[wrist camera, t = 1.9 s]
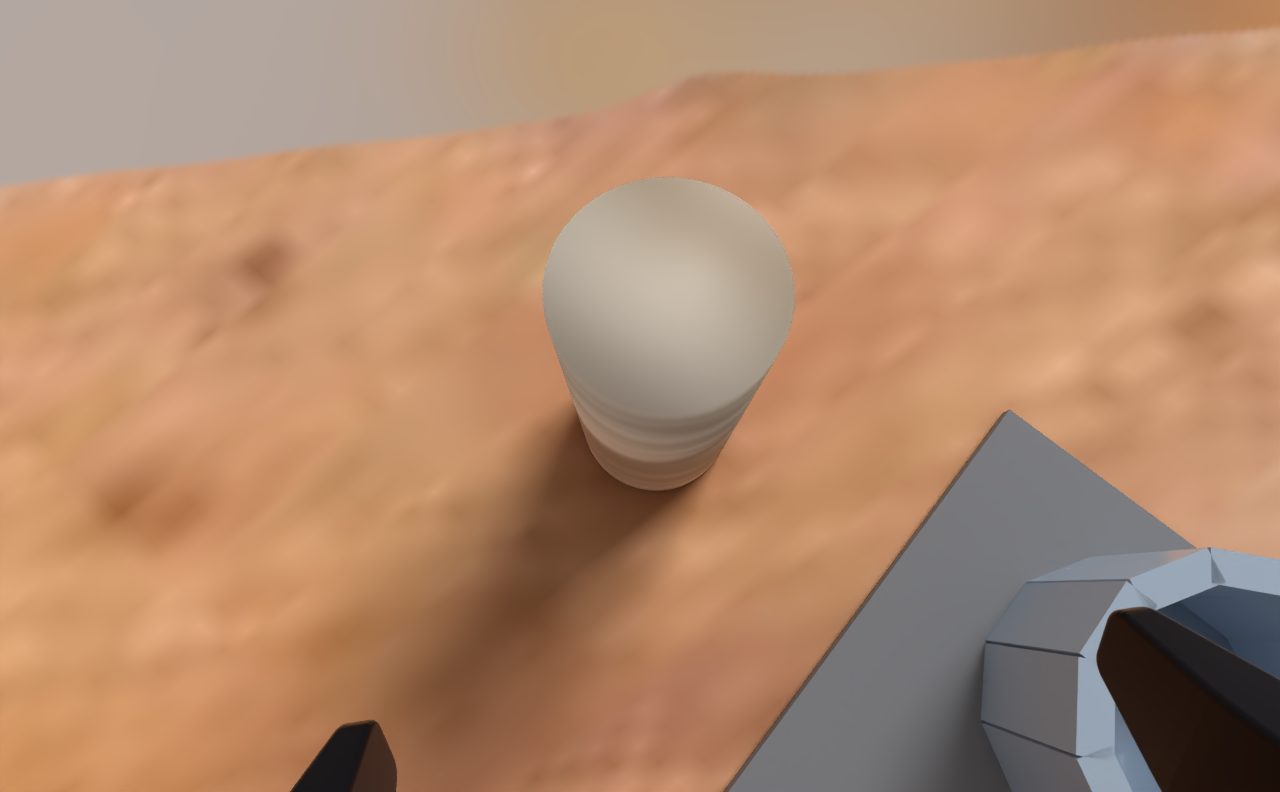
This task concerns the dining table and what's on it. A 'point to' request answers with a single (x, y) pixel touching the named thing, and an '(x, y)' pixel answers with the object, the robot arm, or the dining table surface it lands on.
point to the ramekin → (1067, 669)
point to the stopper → (665, 323)
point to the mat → (945, 626)
